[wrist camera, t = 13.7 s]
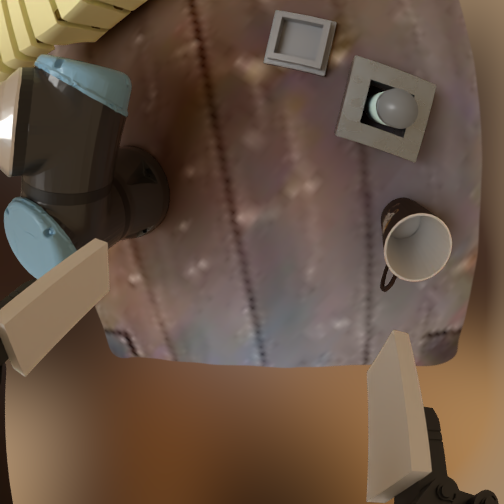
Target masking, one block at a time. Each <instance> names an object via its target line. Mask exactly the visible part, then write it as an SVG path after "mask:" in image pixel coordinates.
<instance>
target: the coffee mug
mask: <svg viewBox="0 0 504 504" xmlns="http://www.w3.org/2000/svg"><path fill="white" fill-rule="evenodd" d="M381 226H382V236H383V248H384V257H385V261H386V266H385V269H384V272H383V276H382V279H381V284H380V288H381V290H382V291H384V292H386V291H388V290H389V289H390V288H391V287H392V286H393V284H394V282H395V280H396V278H397V277H399V278H400V279H403V280H406V281H411V282H417V281H423V280H426V279H429V278H431V277H433V276H434V275H436V274H437V273H438V272H439V271H440V270H442V268H443V267H444V266H445V265H446V263H447V261H448V259H449V257H450V254H451V250H452V238H451V234H450V231H449V229H448V227H447V226H446V224H445V223H444V222H443V221H442V220H441V219H439V218H438V217H437V216H435V215H434V214H432V213H431V212H429V211H428V210H426V209H425V208H423V207H422V206H420V205H419V204H417V203H416V202H414V201H413V200H410V199H407V198H399V199H395V200H393V201H391V202H390V203H389V204H388V205H387V206H386V207H385V208H384V210H383V213H382V216H381ZM388 268H389V269H390V271H391V272H392V273H393V274H394V275H393V277H392V279H391V281H390V282H389V284H388V285H387V286H384V284H385V279H386V274H387V271H388Z"/></svg>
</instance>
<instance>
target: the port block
mask: <svg viewBox="0 0 504 504" xmlns="http://www.w3.org/2000/svg"><path fill="white" fill-rule="evenodd" d="M369 85H371V86H374V87H377V88H380V89H383V90H386V91H387V90H390V89H395V88H398V89H403V90H405V91H407V92H409V93H410V94H411V95H412V96H413V97H414V99H415V100H416V102H417V105H418V116H417V119H416V121H415V122H414V123H413V124H412V125H411V126H409V127H407V128H404V129H398V128H395V129H394V133H393V134H392V133H389V132H387V131H384V130H381V129H378V128H375V127H372V126H369V125H366V124H363V123H360V120H361V117H362V113H363V109H364V105H365V101H366V97H367V93H368V89H369ZM435 90H436V85H435V84H432V83H430V82H428V81H425V80H423V79H421V78H418V77H416V76H413V75H411V74H408V73H406V72H403V71H400V70H398V69H395V68H392V67H390V66H387V65H384V64H381V63H378V62H375V61H372V60H369V59H366V58H363V57H359V56H356V55H355V57H354V59H353V61H352V63H351V67H350V71H349V76H348V80H347V84H346V88H345V92H344V96H343V100H342V104H341V108H340V112H339V116H338V120H337V124H336V127H335V131H334V132H335V135H336V136H339V137H342V138H346V139H349V140H352V141H355V142H358V143H361V144H364V145H368V146H370V147H373V148H376V149H379V150H382V151H385V152H388V153H391V154H393V155H396V156H399V157H401V158H404V159H407V160H409V161H412V162H416V159H417V156H418V153H419V149H420V146H421V143H422V139H423V136H424V132H425V129H426V125H427V121H428V118H429V114H430V110H431V106H432V102H433V98H434V94H435Z"/></svg>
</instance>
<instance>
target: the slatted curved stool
mask: <svg viewBox="0 0 504 504" xmlns="http://www.w3.org/2000/svg"><path fill="white" fill-rule="evenodd" d="M146 1H147V0H0V82H2V81H4V80H6V79H7V78H8V77H9V76H10V75H11V74H12V73H13V72H15V71H16V70H17V69H18V68H19V67H34V66H35V65H34V63H35V61H36V60H37V58H38V57H39V56H40V55H41V54H48V53H49V52H51V51H52V50H54V49H55V47H54V45H68V44H74V43H81V42H96V41H97V40H98V39H99V38H100V37H102V36H103V35H104V34H105V33H106V32H107V31H108V30H109V29H110V28H112V27H113V26H115V25H116V24H117V23H118V22H120V21H121V20H122V19H123V18H125V17H126V16H127V15H128V14H130V13H131V11H133V10H135V9H136V8H138V7H139V6H140V5H142V4H143V3H145V2H146Z"/></svg>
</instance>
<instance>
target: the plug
mask: <svg viewBox="0 0 504 504" xmlns="http://www.w3.org/2000/svg"><path fill="white" fill-rule="evenodd" d="M364 108H365V113H366V115H367V116H368V118H369V119H370V120H372V121H374V122H376V123H380V124H383V125H387V126H390V127H394V128H398V129H404V128H407V127H409V126H411V125H412V124H413V123H414V122H415V121H416V119H417V116H418V105H417V102H416V100H415V99H414V97H413V96H412V95H411V94H410V93H409V92H407V91H405V90H403V89H398V88H395V89H390V90H387V91H383V92H380V93H377V94H374V95H371V96H370V97H369V98H368V99H367V100H366V102H365V107H364Z"/></svg>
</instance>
